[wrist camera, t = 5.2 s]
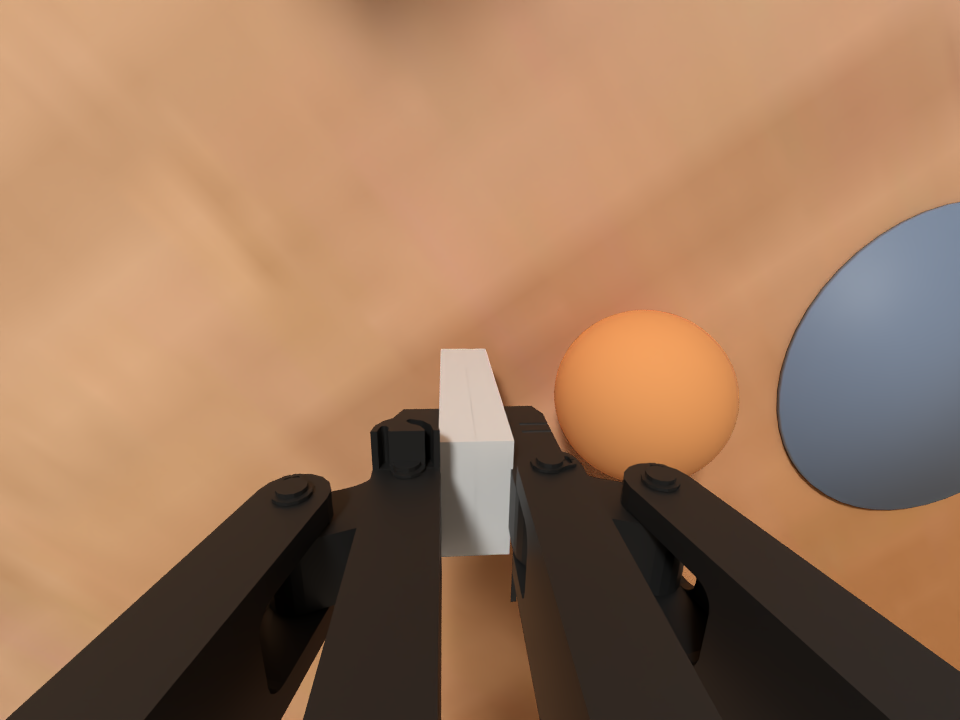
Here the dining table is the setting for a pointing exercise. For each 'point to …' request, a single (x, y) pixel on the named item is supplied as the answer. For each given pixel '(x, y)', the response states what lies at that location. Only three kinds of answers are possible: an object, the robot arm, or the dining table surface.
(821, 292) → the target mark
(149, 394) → the dining table surface
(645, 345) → the ball
